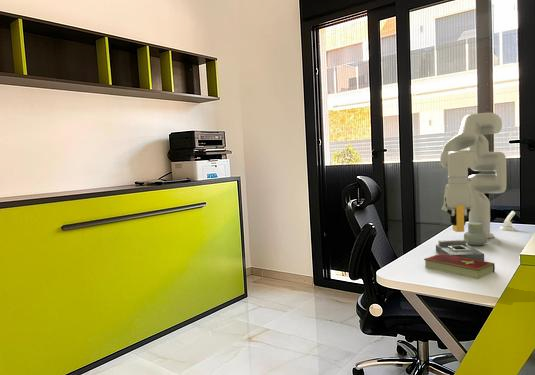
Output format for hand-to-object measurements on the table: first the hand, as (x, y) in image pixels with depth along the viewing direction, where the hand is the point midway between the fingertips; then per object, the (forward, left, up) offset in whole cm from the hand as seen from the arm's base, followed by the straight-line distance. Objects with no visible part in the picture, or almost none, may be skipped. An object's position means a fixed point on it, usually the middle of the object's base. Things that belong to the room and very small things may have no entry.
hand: (458, 224), depth 171 cm
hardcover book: (+19, -7, -14) cm, 25 cm away
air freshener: (-20, +15, -14) cm, 29 cm away
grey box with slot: (0, 0, -14) cm, 14 cm away
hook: (-52, +45, -14) cm, 70 cm away
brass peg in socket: (0, 0, -3) cm, 3 cm away
